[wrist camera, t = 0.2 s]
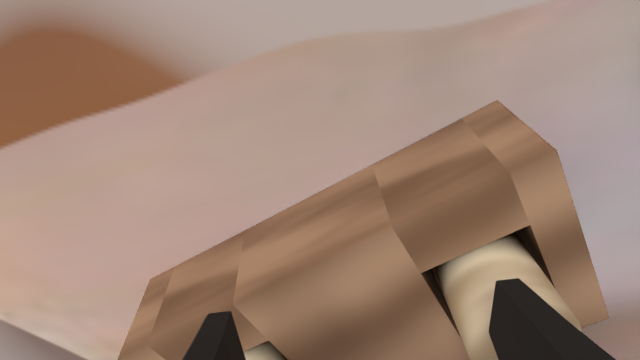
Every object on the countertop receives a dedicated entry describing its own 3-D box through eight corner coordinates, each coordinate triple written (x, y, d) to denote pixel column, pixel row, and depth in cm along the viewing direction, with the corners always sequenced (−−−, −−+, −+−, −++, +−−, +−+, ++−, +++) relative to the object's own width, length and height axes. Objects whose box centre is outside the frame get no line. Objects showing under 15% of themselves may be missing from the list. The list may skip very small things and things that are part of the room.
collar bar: (552, 246, 24) (609, 317, 19) (254, 373, 28) (247, 454, 24) (497, 100, 19) (556, 150, 15) (150, 279, 23) (117, 359, 19)
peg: (530, 266, 20) (591, 355, 16) (451, 300, 21) (489, 392, 17) (505, 207, 18) (567, 289, 14) (418, 246, 19) (453, 335, 15)
